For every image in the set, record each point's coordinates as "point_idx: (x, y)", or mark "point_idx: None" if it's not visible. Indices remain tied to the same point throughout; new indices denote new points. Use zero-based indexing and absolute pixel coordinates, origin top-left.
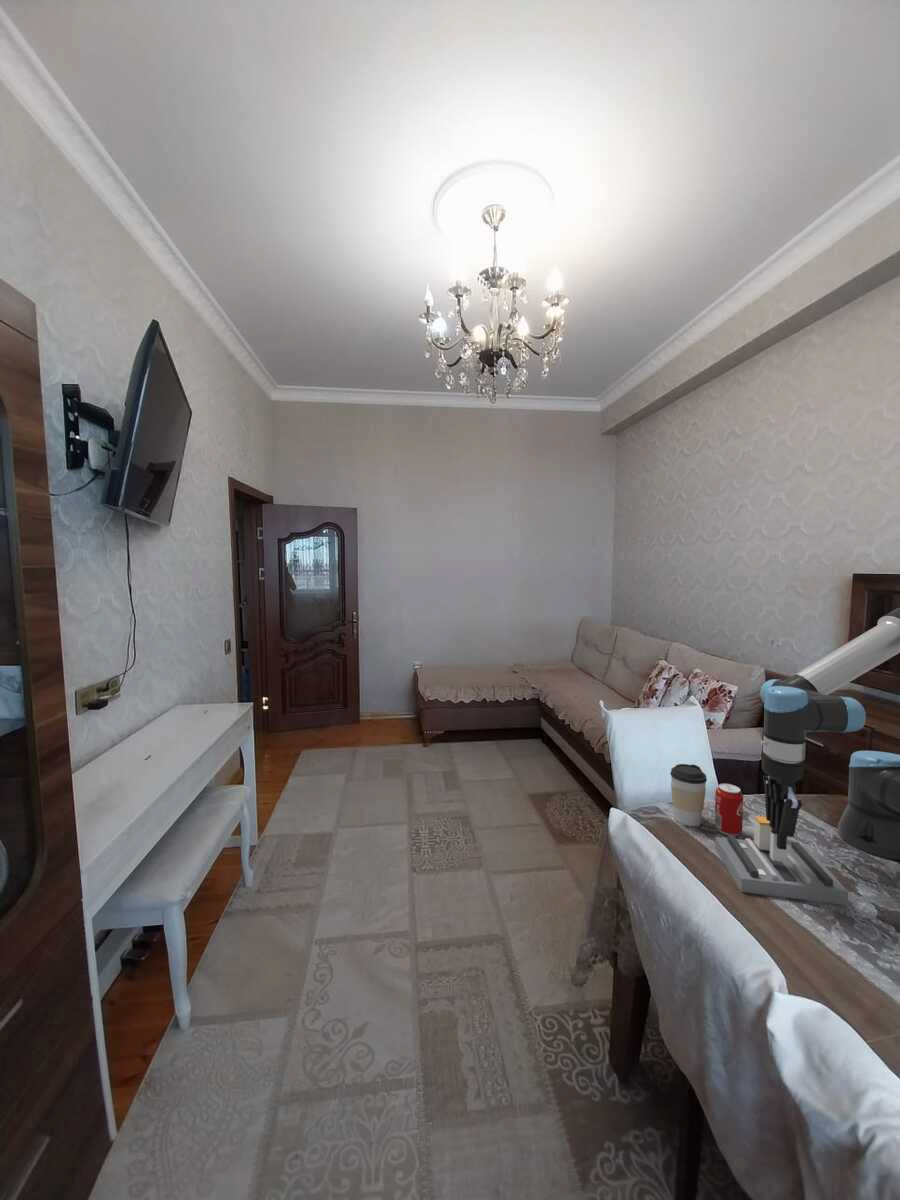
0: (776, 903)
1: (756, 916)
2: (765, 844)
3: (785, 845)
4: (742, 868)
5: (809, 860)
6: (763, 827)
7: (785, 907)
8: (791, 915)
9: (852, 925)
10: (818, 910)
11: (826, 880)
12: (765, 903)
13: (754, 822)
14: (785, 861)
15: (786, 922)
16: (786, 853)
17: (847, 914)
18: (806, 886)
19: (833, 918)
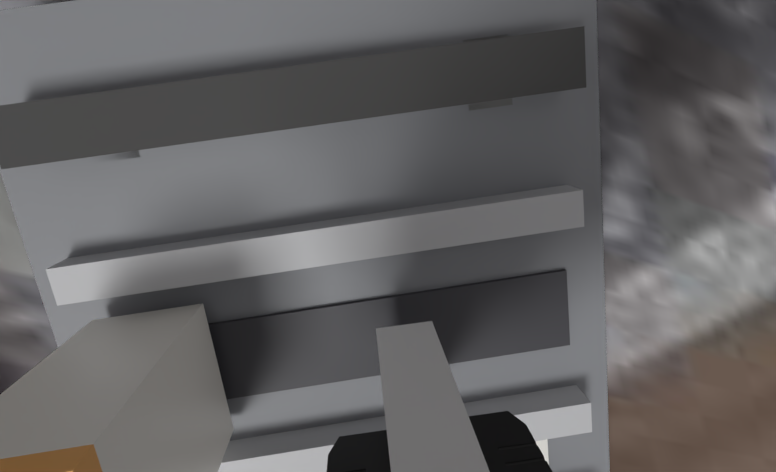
0: (627, 362)
1: (744, 466)
2: (213, 419)
3: (534, 452)
4: None
5: (315, 115)
6: None
7: (650, 328)
8: (708, 317)
9: (731, 25)
10: (638, 167)
11: (582, 79)
12: (639, 411)
13: None
14: (433, 329)
15: (763, 353)
16: (444, 358)
17: (638, 10)
18: (601, 224)
19: (691, 110)
